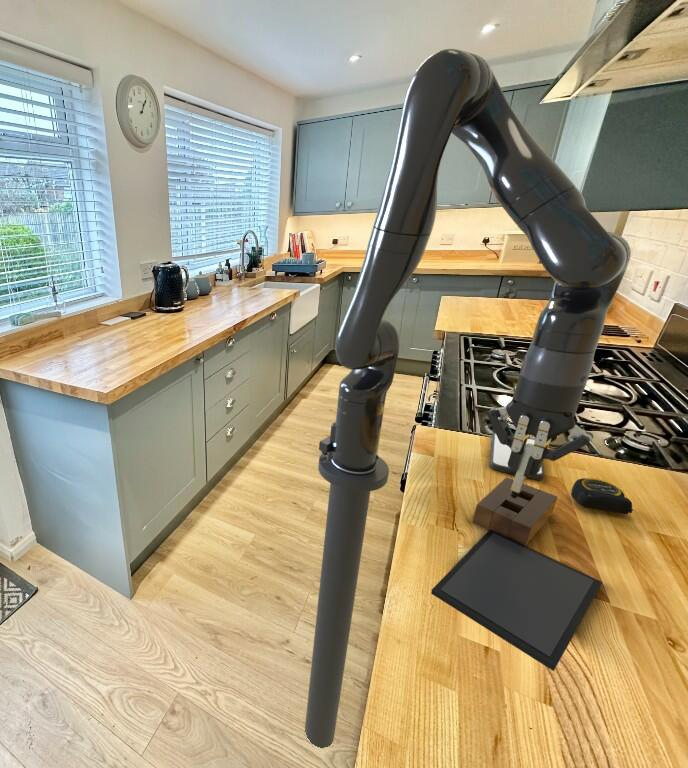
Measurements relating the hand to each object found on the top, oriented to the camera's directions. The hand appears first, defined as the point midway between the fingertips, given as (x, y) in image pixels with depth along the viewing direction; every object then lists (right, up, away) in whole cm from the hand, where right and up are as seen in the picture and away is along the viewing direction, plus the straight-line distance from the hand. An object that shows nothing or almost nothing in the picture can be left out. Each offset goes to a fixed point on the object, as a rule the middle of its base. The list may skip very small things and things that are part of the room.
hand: (521, 472), depth 68 cm
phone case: (+17, -2, +23) cm, 28 cm away
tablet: (-8, -15, -8) cm, 19 cm away
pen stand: (+3, -9, +5) cm, 11 cm away
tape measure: (+19, -8, +7) cm, 22 cm away
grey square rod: (0, -5, +2) cm, 5 cm away
